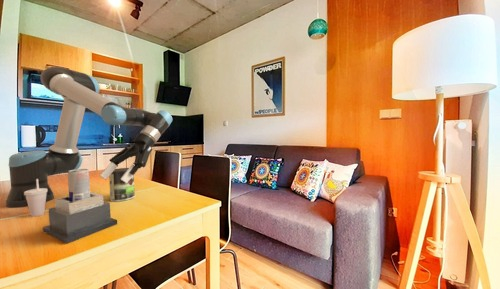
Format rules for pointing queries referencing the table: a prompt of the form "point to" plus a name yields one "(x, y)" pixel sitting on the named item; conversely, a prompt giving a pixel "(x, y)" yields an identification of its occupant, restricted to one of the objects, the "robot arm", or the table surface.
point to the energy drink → (78, 184)
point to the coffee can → (121, 186)
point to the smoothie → (36, 200)
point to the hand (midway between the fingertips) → (112, 179)
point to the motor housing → (78, 218)
